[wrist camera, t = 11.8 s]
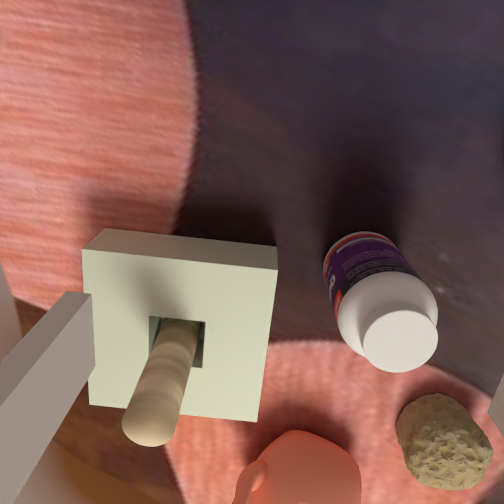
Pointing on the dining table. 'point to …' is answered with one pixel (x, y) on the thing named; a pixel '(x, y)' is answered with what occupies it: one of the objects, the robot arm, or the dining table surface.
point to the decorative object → (443, 443)
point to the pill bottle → (380, 302)
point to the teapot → (300, 473)
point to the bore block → (181, 315)
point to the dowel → (162, 384)
